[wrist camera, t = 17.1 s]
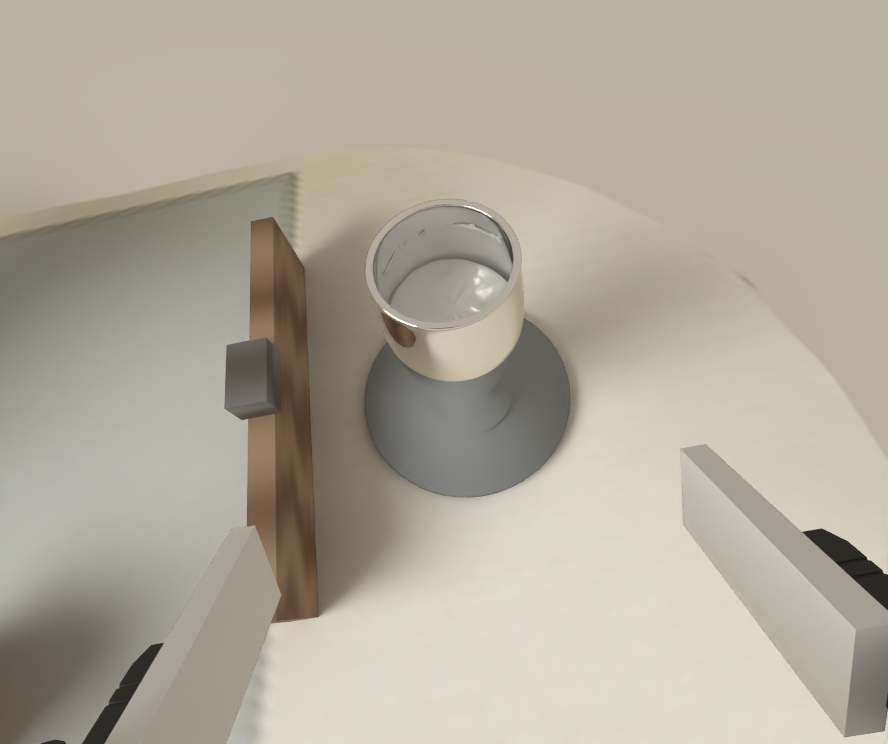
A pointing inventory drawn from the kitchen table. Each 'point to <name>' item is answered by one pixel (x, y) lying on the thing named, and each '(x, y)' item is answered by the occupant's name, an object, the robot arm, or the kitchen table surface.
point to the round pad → (479, 455)
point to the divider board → (277, 419)
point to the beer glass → (451, 307)
